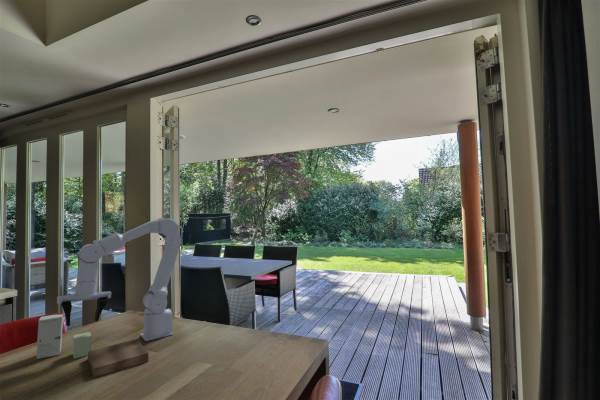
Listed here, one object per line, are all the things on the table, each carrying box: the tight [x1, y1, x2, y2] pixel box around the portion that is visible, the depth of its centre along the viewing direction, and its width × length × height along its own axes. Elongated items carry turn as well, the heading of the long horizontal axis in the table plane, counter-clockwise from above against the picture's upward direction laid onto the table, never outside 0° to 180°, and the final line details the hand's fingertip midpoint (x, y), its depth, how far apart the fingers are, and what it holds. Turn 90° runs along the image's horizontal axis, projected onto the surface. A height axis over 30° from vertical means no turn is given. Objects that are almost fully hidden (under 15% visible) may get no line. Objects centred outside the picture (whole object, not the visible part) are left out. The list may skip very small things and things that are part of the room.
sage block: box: [72, 331, 93, 359], centre depth 98 cm, size 4×4×6 cm
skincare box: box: [35, 313, 64, 360], centre depth 98 cm, size 6×4×12 cm
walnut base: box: [87, 338, 149, 378], centre depth 93 cm, size 14×14×2 cm
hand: (82, 322), depth 98 cm, fingers open, 7 cm apart
